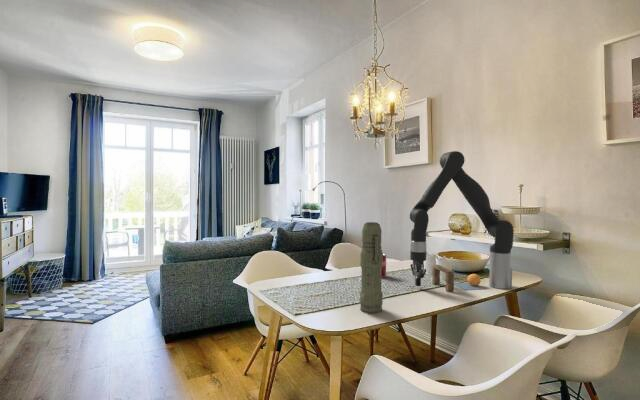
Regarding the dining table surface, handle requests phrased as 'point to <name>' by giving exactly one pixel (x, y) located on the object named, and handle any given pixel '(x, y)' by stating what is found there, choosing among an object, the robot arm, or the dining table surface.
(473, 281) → the ball
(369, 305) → the thermos
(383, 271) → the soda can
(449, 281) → the bridge
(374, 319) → the dining table surface
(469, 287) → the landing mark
